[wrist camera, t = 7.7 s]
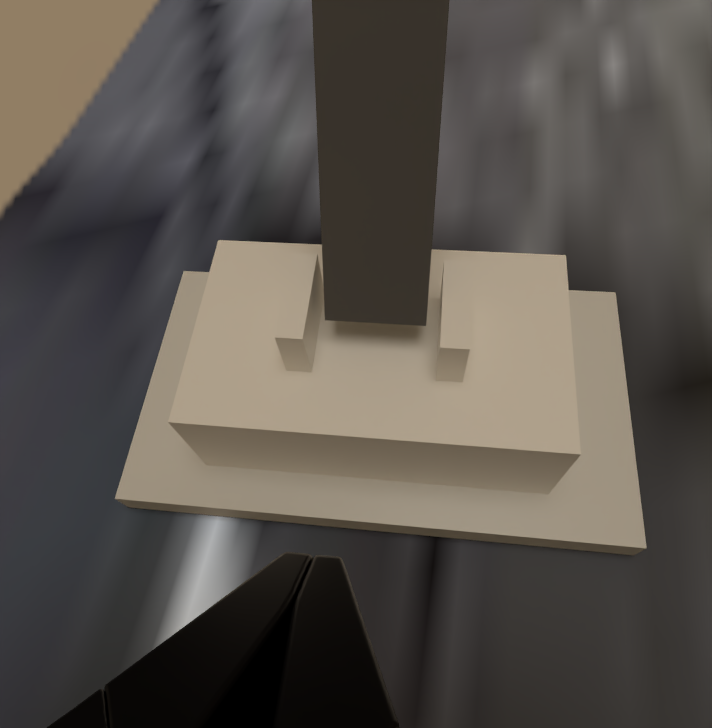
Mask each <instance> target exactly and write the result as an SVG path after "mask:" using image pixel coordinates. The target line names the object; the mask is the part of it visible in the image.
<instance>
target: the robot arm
mask: <svg viewBox="0 0 712 728" xmlns="http://www.w3.org/2000/svg"><path fill="white" fill-rule="evenodd" d="M47 728H399V723H398V720H397V717H396V714H395V712H394V709H393V706H392V703H391V700H390V697H389V694H388V691H387V688H386V685H385V682H384V679H383V676H382V673H381V671H380V668H379V665H378V662H377V659H376V656H375V653H374V650H373V647H372V644H371V641H370V638H369V635H368V633H367V630H366V627H365V624H364V621H363V618H362V615H361V612H360V609H359V606H358V603H357V600H356V597H355V594H354V592H353V589H352V586H351V583H350V580H349V577H348V574H347V571H346V568H345V565H344V562H343V560H342V559H341V558H340V557H334V556H323V555H316V556H314V558H313V557H312V556H311V555H310V554H303V553H293V552H285V553H283V554H282V555H280V556H279V557H278V558H276V559H275V560H274V561H272V562H271V563H270V564H268V565H267V566H266V567H264V568H263V569H262V570H260V571H259V572H258V573H256V574H255V575H253V576H252V577H251V578H249V579H248V580H247V581H245V582H244V583H243V584H241V585H240V586H239V587H237V588H236V589H235V590H233V591H232V592H231V593H229V594H228V595H226V596H225V597H224V598H222V599H221V600H220V601H218V602H217V603H216V604H214V605H213V606H212V607H210V608H209V609H208V610H206V611H205V612H204V613H202V614H201V615H199V616H198V617H197V618H195V619H194V620H193V621H191V622H190V623H189V624H187V625H186V626H185V627H183V628H182V629H181V630H179V631H178V632H177V633H175V634H174V635H172V636H171V637H170V638H168V639H167V640H166V641H164V642H163V643H162V644H160V645H159V646H158V647H156V648H155V649H154V650H152V651H151V652H150V653H148V654H147V655H145V656H144V657H143V658H141V659H140V660H139V661H137V662H136V663H135V664H133V665H132V666H131V667H129V668H128V669H127V670H125V671H124V672H123V673H121V674H120V675H118V676H117V677H116V678H114V679H113V680H112V681H110V682H109V683H108V684H106V686H105V692H104V690H103V689H100V690H98V691H97V692H95V693H94V694H92V695H91V696H90V697H88V698H87V699H86V700H84V701H83V702H82V703H80V704H79V705H78V706H76V707H75V708H74V709H72V710H71V711H69V712H68V713H67V714H65V715H64V716H62V717H61V718H59V719H58V720H57V721H55V722H54V723H52V724H51V725H50V726H48V727H47Z"/></svg>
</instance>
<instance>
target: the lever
mask: <svg viewBox="0 0 712 728" xmlns="http://www.w3.org/2000/svg"><path fill="white" fill-rule="evenodd" d="M448 11H449V0H312V14H313V39H314V64H315V88H316V113H317V138H318V162H319V187H320V212H321V236H322V261H323V286H324V311H325V320H329V321H346V322H364V323H381V324H399V325H416V326H426V321H427V307H428V293H429V279H430V265H431V251H432V237H433V223H434V209H435V195H436V181H437V166H438V152H439V138H440V124H441V110H442V96H443V82H444V68H445V54H446V40H447V25H448Z"/></svg>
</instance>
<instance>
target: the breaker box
mask: <svg viewBox="0 0 712 728" xmlns="http://www.w3.org/2000/svg"><path fill="white" fill-rule="evenodd" d="M115 499H116V500H118V501H119V502H121V503H123V504H124V505H126V506H127V507H130V508H140V509H151V510H161V511H172V512H182V513H193V514H204V515H214V516H225V517H235V518H246V519H256V520H267V521H277V522H288V523H298V524H309V525H319V526H330V527H340V528H351V529H361V530H372V531H383V532H393V533H404V534H414V535H425V536H435V537H446V538H456V539H467V540H477V541H488V542H498V543H509V544H519V545H530V546H541V547H551V548H562V549H572V550H583V551H593V552H604V553H614V554H625V555H635V554H637V553H639V552H641V551H643V550H644V549H646V540H645V531H644V523H643V515H642V507H641V499H640V490H639V482H638V474H637V466H636V457H635V449H634V441H633V433H632V425H631V416H630V408H629V400H628V392H627V383H626V375H625V367H624V359H623V351H622V342H621V334H620V326H619V318H618V309H617V301H616V293H615V292H595V291H574V290H568V278H567V265H566V255H547V254H524V253H501V252H478V251H455V250H432V251H431V265H430V279H429V293H428V307H427V321H426V326H416V325H399V324H381V323H364V322H346V321H329V320H325V311H324V286H323V261H322V245H317V244H294V243H270V242H247V241H224V240H218V243H217V247H216V251H215V254H214V258H213V261H212V265H211V269H210V272H191V271H184V272H183V275H182V279H181V282H180V285H179V289H178V292H177V295H176V299H175V302H174V305H173V308H172V312H171V315H170V318H169V322H168V325H167V328H166V332H165V335H164V338H163V341H162V345H161V348H160V351H159V355H158V358H157V361H156V365H155V368H154V371H153V375H152V378H151V381H150V384H149V388H148V391H147V394H146V398H145V401H144V404H143V408H142V411H141V414H140V417H139V421H138V424H137V427H136V431H135V434H134V437H133V441H132V444H131V447H130V450H129V454H128V457H127V460H126V464H125V467H124V470H123V474H122V477H121V480H120V484H119V487H118V490H117V493H116V497H115Z"/></svg>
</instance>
